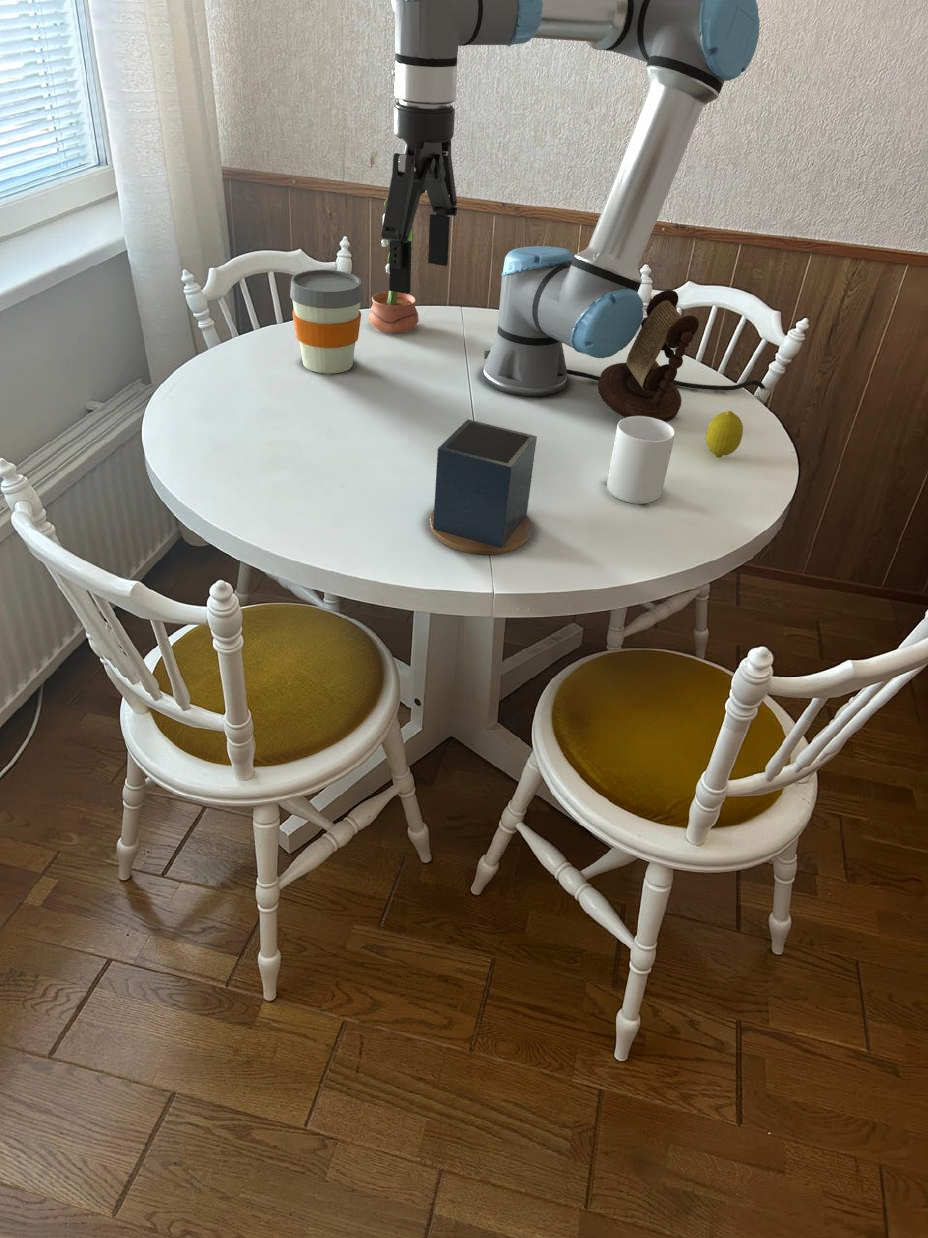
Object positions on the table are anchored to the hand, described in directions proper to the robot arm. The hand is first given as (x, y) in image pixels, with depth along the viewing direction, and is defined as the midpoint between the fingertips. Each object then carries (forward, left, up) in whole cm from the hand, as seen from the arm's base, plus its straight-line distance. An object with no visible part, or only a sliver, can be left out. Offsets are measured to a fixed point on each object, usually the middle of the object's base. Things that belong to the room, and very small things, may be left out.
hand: (419, 277), depth 127 cm
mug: (-30, +16, -27) cm, 43 cm away
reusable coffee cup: (+6, -36, -27) cm, 46 cm away
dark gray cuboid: (0, +20, -20) cm, 28 cm away
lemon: (-49, +10, -27) cm, 56 cm away
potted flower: (-10, -52, -27) cm, 60 cm away
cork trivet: (-4, +23, -27) cm, 35 cm away
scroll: (-42, -9, -25) cm, 50 cm away
